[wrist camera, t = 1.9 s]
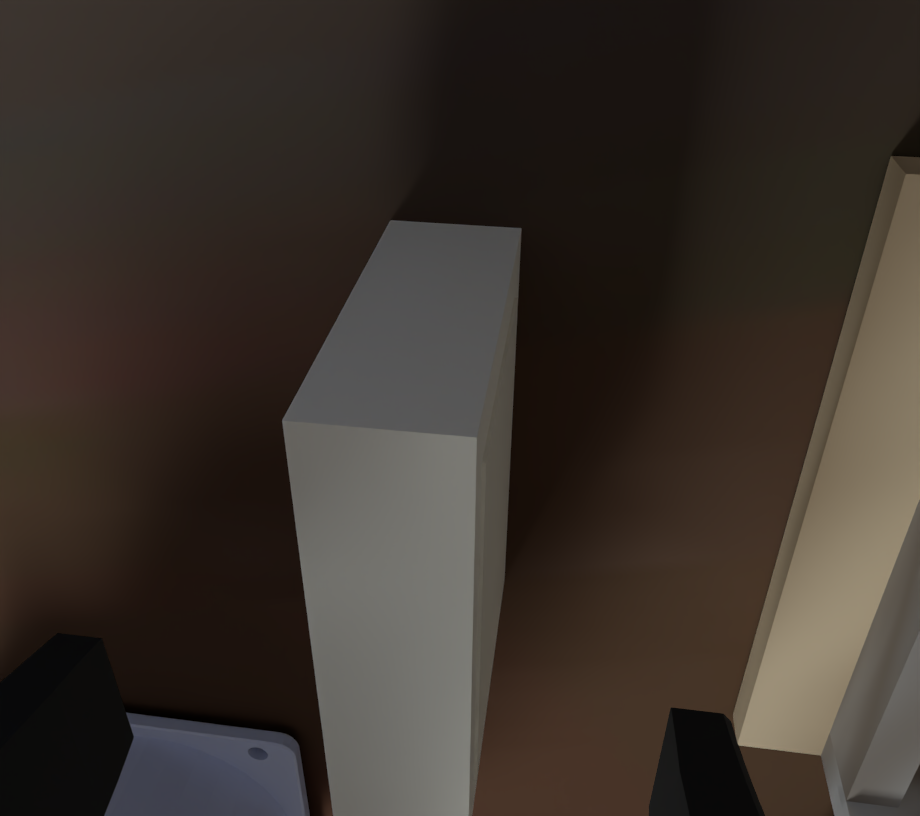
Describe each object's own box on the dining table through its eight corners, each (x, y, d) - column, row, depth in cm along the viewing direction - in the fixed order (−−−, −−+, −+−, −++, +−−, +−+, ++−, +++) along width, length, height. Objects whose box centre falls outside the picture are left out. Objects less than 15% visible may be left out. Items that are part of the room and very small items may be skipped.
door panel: (402, 565, 19) (330, 823, 14) (387, 218, 15) (277, 419, 10) (507, 577, 19) (471, 843, 14) (524, 227, 15) (481, 438, 10)
